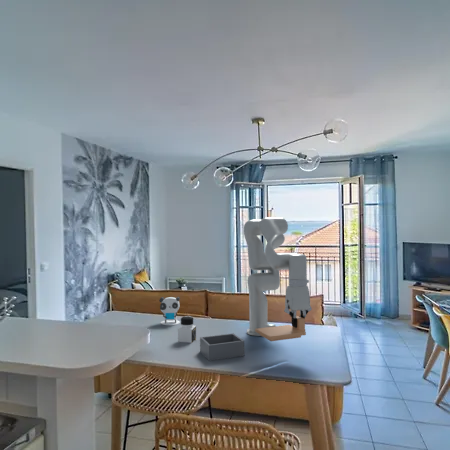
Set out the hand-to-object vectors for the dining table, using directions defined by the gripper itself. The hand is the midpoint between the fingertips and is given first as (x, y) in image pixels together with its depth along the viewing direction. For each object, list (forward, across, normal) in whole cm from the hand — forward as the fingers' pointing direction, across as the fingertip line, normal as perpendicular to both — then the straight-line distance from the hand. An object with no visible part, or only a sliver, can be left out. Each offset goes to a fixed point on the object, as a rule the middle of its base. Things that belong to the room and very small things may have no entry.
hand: (298, 326), depth 149 cm
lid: (+3, +8, 0) cm, 8 cm away
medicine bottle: (+13, +38, -39) cm, 56 cm away
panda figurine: (+13, +38, -77) cm, 87 cm away
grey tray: (+13, +29, -15) cm, 35 cm away
